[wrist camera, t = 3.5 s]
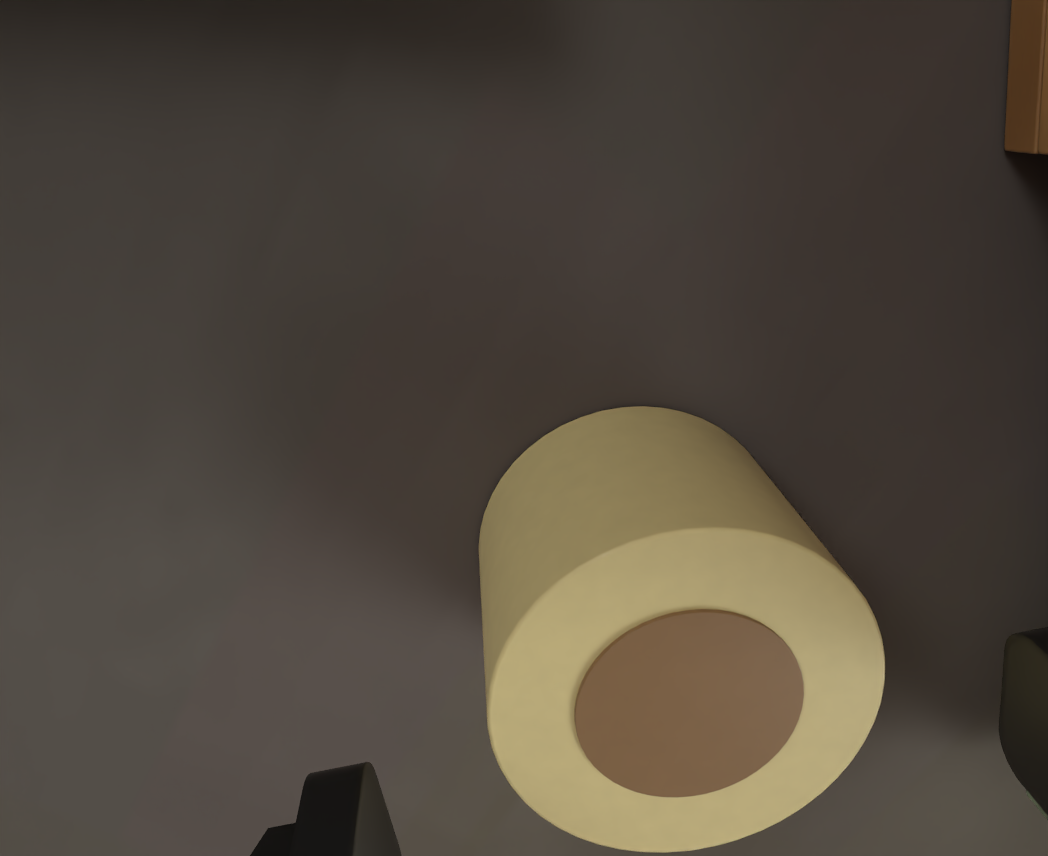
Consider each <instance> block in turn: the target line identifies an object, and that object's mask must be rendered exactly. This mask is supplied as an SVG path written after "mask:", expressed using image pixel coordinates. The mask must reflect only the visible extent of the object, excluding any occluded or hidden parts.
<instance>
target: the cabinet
mask: <svg viewBox="0 0 1048 856" xmlns="http://www.w3.org/2000/svg"><path fill="white" fill-rule="evenodd" d="M1004 149H1005V151H1011V152H1020V153H1029V154H1044V155H1048V0H1012V2H1011V22H1010V42H1009V62H1008V82H1007V102H1006V122H1005V143H1004Z"/></svg>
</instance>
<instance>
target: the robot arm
mask: <svg viewBox="0 0 1048 856" xmlns="http://www.w3.org/2000/svg"><path fill="white" fill-rule="evenodd" d="M999 735H1000V740H1001V745H1002V748H1003V751H1004V754H1005V756H1006V759H1007V761H1008V763H1009V765H1010V767H1011V769H1012V771H1013V772H1014V774H1015V776H1016V777H1017V779H1018V780H1019V781H1020V783H1021V784H1022V785H1023V786H1024V787H1025V789H1026V790H1027V791H1028V792H1029V794H1030V795H1031V796H1032V797H1033V798H1034V800H1035V801H1036V802H1037V803H1038V804H1039V806H1040V807H1041V808H1042V809H1043V811H1044V812H1045V813H1046V814H1047V815H1048V627H1047V628H1042V629H1036V630H1031V631H1026V632H1021V633H1016V634H1012V635H1011V636H1010V637H1009V638H1008V639H1007V641H1006V644H1005V650H1004V663H1003V677H1002V690H1001V704H1000V717H999ZM250 856H401V851H400V848H399V844H398V841H397V838H396V835H395V832H394V829H393V825H392V822H391V819H390V816H389V813H388V810H387V807H386V804H385V800H384V797H383V794H382V791H381V788H380V785H379V782H378V778H377V775H376V773H375V770H374V768H373V766H372V764H371V763H370V762H365V763H360V764H355V765H350V766H345V767H340V768H334V769H329V770H324V771H319V772H314V773H310V774H309V775H308V776H307V777H306V780H305V782H304V786H303V791H302V795H301V800H300V805H299V810H298V815H297V820H296V823H293V824H288V825H282V826H277V827H272V828H268V829H267V831H266V832H265V834H264V835H263V837H262V838H261V840H260V841H259V843H258V844H257V846H256V847H255V849H254V851H253V852H252V854H251V855H250Z"/></svg>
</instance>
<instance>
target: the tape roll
mask: <svg viewBox="0 0 1048 856" xmlns="http://www.w3.org/2000/svg"><path fill="white" fill-rule="evenodd" d="M479 565H480V585H481V605H482V625H483V645H484V666H485V686H486V706H487V726H488V732H489V737H490V741H491V746H492V749H493V752H494V754H495V757H496V759H497V762H498V764H499V767H500V769H501V770H502V772H503V774H504V775H505V777H506V779H507V780H508V782H509V784H510V785H511V787H512V788H513V789H514V790H515V791H516V792H517V794H518V795H519V796H520V797H521V798H522V800H523V801H524V802H525V803H526V804H527V805H528V806H530V807H531V808H532V809H533V810H534V811H535V812H536V813H538V814H539V815H540V816H541V817H543V818H544V819H546V820H547V821H549V822H550V823H552V824H553V825H555V826H556V827H558V828H560V829H562V830H564V831H566V832H568V833H570V834H572V835H574V836H576V837H578V838H581V839H584V840H587V841H590V842H593V843H596V844H599V845H603V846H608V847H612V848H616V849H621V850H630V851H638V852H679V851H691V850H696V849H702V848H708V847H713V846H717V845H721V844H724V843H728V842H732V841H735V840H738V839H741V838H744V837H746V836H749V835H752V834H754V833H757V832H760V831H762V830H764V829H766V828H768V827H770V826H772V825H774V824H776V823H778V822H780V821H782V820H783V819H785V818H787V817H788V816H790V815H792V814H793V813H795V812H796V811H798V810H800V809H801V808H803V807H804V806H805V805H807V804H808V803H809V802H811V801H812V800H813V799H815V798H816V797H817V796H818V795H820V794H821V793H822V792H823V791H824V790H825V789H826V788H827V787H828V786H829V785H830V784H832V783H833V782H834V781H835V780H836V779H837V778H838V777H839V775H840V774H841V773H842V772H843V771H844V770H845V768H846V767H847V766H848V765H849V764H850V763H851V761H852V760H853V759H854V757H855V756H856V754H857V753H858V751H859V750H860V748H861V746H862V745H863V743H864V742H865V740H866V738H867V736H868V734H869V732H870V730H871V728H872V726H873V724H874V721H875V718H876V715H877V713H878V710H879V707H880V704H881V699H882V694H883V688H884V683H885V655H884V648H883V641H882V636H881V633H880V630H879V627H878V624H877V620H876V617H875V616H874V614H873V612H872V610H871V608H870V606H869V604H868V602H867V600H866V598H865V597H864V596H863V594H862V593H861V592H860V591H859V589H858V588H857V587H856V585H855V584H854V583H853V581H852V580H851V579H850V578H849V576H848V575H847V574H846V573H845V571H844V570H843V569H842V568H841V566H840V565H839V564H838V563H837V561H836V560H835V559H834V558H833V557H832V555H831V554H830V553H829V552H828V550H827V549H826V548H825V547H824V545H823V544H822V543H821V542H820V540H819V539H818V538H817V537H816V535H815V534H814V533H813V532H812V530H811V529H810V528H809V527H808V526H807V524H806V523H805V522H804V521H803V519H802V518H801V517H800V516H799V514H798V513H797V512H796V511H795V509H794V508H793V507H792V506H791V504H790V503H789V502H788V501H787V499H786V498H785V497H784V496H783V495H782V493H781V492H780V491H779V490H778V488H777V487H776V486H775V485H774V483H773V482H772V481H771V480H770V478H769V477H768V476H767V475H766V473H765V472H764V471H763V470H762V468H761V467H760V466H759V465H758V464H757V462H756V461H755V460H754V459H753V457H752V456H751V455H750V454H749V452H748V451H747V450H746V449H745V448H744V447H743V446H742V445H741V444H740V443H739V442H738V441H737V440H736V439H735V438H733V437H732V436H731V435H729V434H728V433H726V432H725V431H723V430H722V429H721V428H719V427H717V426H716V425H714V424H712V423H710V422H708V421H706V420H704V419H702V418H699V417H696V416H693V415H691V414H688V413H685V412H681V411H676V410H672V409H667V408H659V407H646V406H638V407H621V408H615V409H609V410H604V411H599V412H596V413H593V414H589V415H586V416H583V417H580V418H578V419H575V420H573V421H571V422H568V423H566V424H564V425H562V426H560V427H558V428H557V429H555V430H553V431H552V432H550V433H548V434H546V435H545V436H543V437H542V438H541V439H539V440H538V441H537V442H535V443H534V444H533V445H532V446H530V447H529V448H528V449H527V450H526V451H525V452H524V453H523V454H522V455H521V456H520V457H519V458H518V459H517V460H516V461H515V462H514V463H513V464H512V465H511V466H510V468H509V469H508V470H507V472H506V473H505V474H504V475H503V477H502V478H501V480H500V481H499V483H498V485H497V487H496V488H495V490H494V492H493V493H492V495H491V498H490V500H489V503H488V505H487V507H486V510H485V513H484V517H483V521H482V525H481V529H480V538H479Z"/></svg>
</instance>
